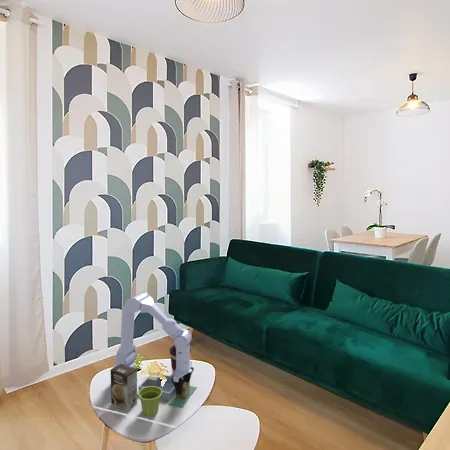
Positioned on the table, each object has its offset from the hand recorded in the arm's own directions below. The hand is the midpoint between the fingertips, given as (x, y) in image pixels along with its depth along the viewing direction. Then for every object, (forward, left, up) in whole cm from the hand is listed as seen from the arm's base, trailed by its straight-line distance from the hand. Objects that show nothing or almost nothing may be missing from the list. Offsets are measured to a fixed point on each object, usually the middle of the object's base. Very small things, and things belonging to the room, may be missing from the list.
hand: (182, 388), depth 161 cm
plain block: (-15, +2, -3) cm, 15 cm away
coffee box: (-20, -14, -4) cm, 25 cm away
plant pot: (-8, -14, -4) cm, 17 cm away
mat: (0, 0, -4) cm, 4 cm away
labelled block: (0, 0, -3) cm, 3 cm away
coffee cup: (-8, +16, -4) cm, 18 cm away
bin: (-12, +2, -4) cm, 12 cm away
